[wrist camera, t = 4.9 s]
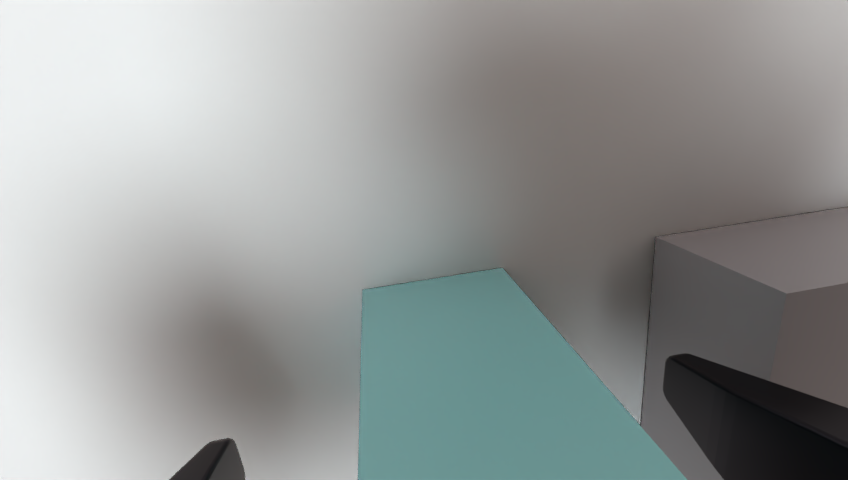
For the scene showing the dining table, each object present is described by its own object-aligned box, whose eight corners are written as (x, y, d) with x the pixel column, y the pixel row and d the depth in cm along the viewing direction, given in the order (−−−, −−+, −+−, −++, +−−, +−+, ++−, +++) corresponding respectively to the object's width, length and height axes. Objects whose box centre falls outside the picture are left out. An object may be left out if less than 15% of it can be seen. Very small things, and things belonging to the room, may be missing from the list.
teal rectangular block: (508, 383, 11) (784, 909, 4) (383, 407, 11) (418, 1033, 4) (502, 267, 10) (876, 695, 3) (362, 289, 10) (347, 845, 2)
